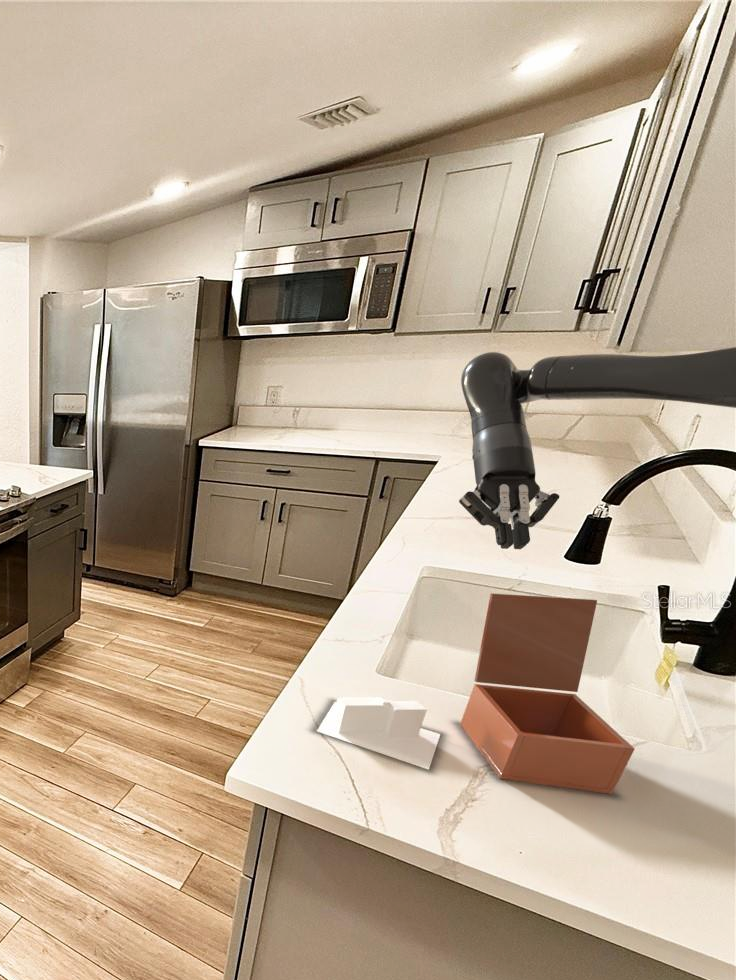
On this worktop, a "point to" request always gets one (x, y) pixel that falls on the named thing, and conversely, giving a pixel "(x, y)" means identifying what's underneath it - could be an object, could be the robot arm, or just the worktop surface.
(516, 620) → the lid
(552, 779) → the reddish brown box
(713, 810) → the worktop surface
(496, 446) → the robot arm
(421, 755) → the napkin holder
